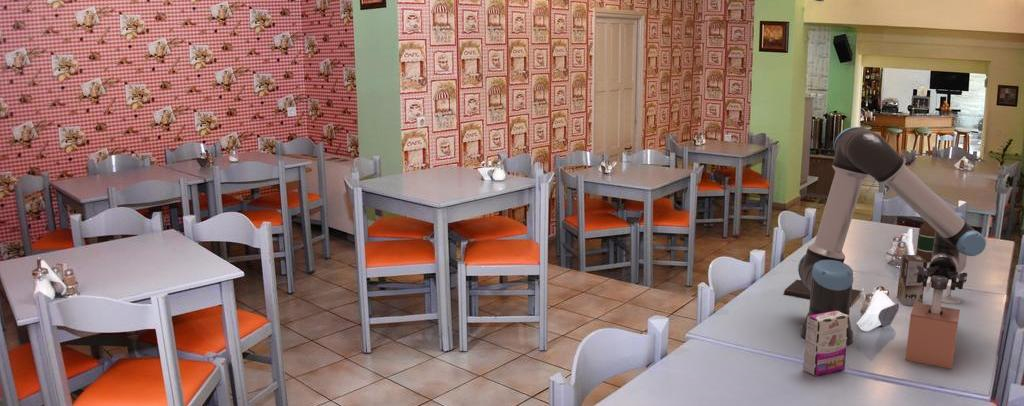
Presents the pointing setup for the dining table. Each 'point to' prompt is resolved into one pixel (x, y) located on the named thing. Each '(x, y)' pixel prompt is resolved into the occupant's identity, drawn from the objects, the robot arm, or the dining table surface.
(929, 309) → the slotted cardboard box
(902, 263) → the coffee box
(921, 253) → the beer bottle
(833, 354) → the candy bar box
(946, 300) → the wineglass
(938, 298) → the pump plunger
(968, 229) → the robot arm
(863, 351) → the dining table surface
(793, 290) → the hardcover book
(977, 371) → the dining table surface
